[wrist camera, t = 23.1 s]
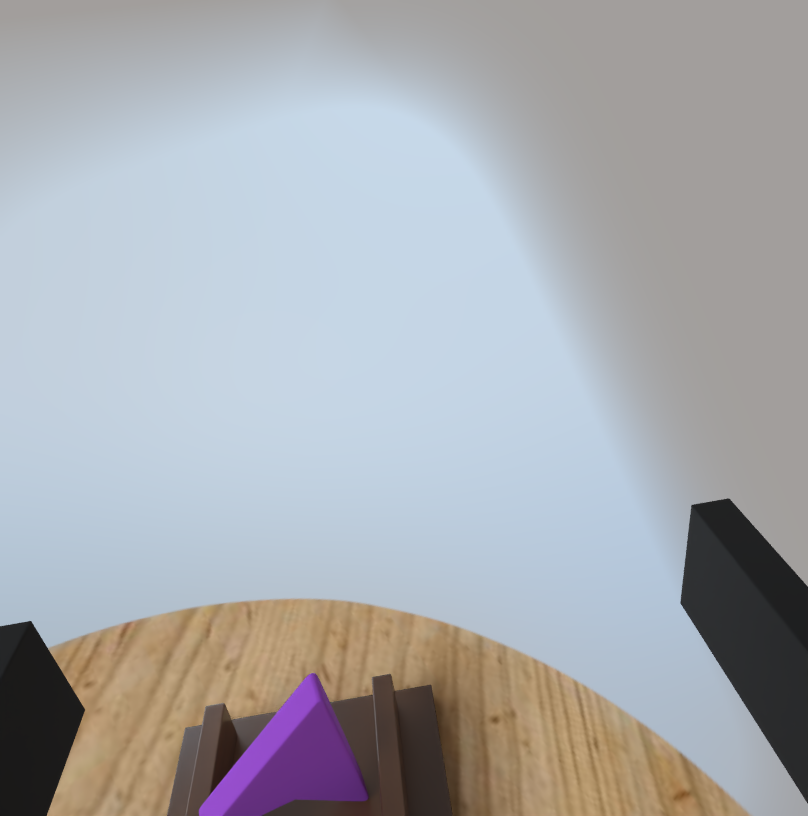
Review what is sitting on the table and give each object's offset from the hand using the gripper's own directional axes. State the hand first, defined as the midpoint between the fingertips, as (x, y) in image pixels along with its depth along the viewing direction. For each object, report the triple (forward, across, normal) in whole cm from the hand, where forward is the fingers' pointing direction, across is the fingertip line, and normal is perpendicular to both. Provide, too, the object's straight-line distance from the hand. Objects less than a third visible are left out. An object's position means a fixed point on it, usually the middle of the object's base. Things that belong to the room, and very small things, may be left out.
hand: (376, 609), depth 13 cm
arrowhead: (+11, -8, -25) cm, 28 cm away
